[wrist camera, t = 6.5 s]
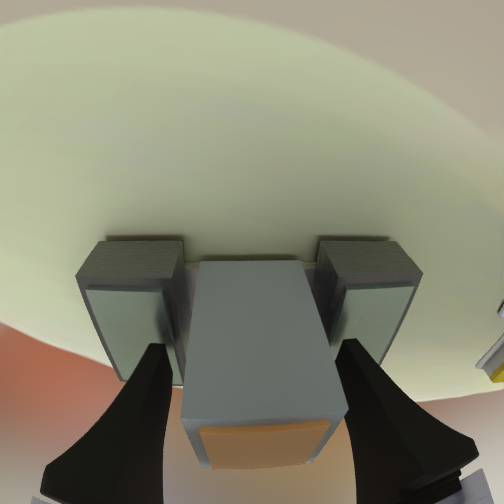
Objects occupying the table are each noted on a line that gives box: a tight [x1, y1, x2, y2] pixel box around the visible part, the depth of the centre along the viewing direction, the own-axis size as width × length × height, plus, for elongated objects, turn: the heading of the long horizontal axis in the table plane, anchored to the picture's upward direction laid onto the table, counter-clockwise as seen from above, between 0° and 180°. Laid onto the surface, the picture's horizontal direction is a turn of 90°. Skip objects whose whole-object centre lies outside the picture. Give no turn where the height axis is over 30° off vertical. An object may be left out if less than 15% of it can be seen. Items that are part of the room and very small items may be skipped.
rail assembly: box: [75, 240, 423, 386], centre depth 13 cm, size 15×7×4 cm, turn 88°
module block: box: [180, 260, 349, 469], centre depth 11 cm, size 4×5×8 cm
